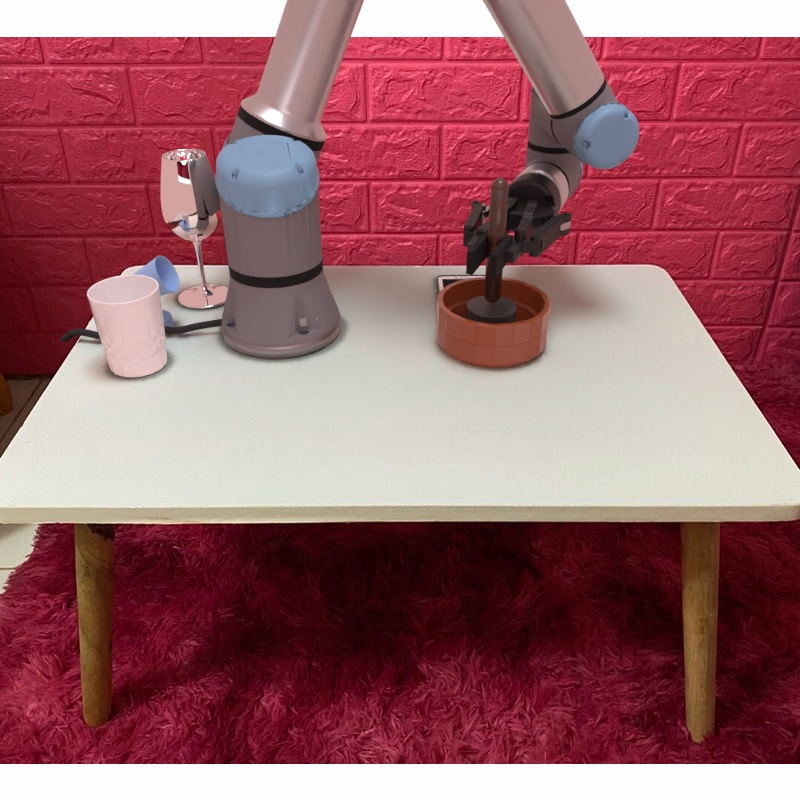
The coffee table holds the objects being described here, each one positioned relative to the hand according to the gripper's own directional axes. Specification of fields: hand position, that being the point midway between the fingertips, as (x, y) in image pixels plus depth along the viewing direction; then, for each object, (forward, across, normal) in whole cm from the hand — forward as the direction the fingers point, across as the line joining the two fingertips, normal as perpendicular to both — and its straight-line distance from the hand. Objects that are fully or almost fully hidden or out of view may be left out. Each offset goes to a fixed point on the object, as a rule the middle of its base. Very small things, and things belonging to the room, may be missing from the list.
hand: (481, 264), depth 85 cm
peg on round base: (-6, 0, -12) cm, 13 cm away
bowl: (-7, 0, -14) cm, 15 cm away
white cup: (+14, +38, -14) cm, 43 cm away
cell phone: (-18, +7, -14) cm, 24 cm away
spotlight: (+6, +42, -14) cm, 44 cm away
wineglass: (-5, +41, -14) cm, 44 cm away
